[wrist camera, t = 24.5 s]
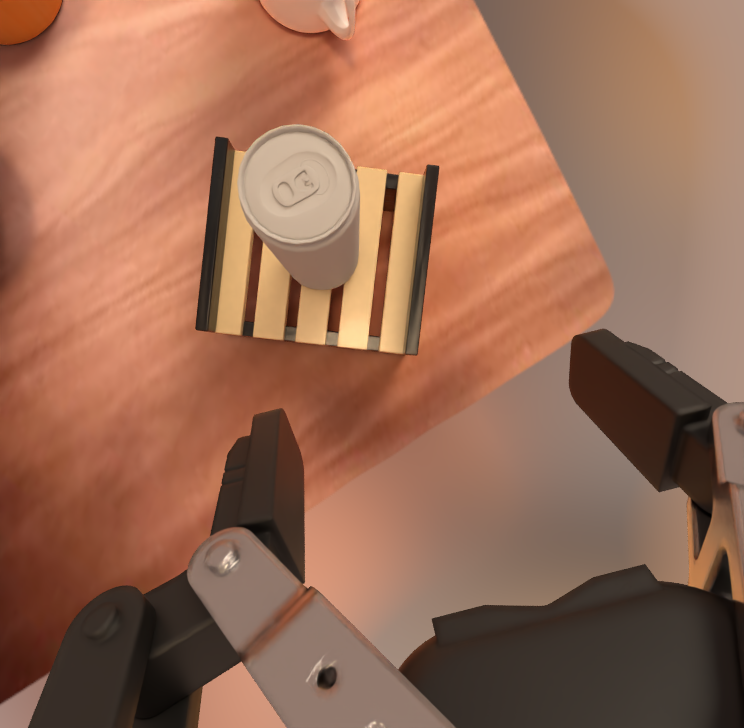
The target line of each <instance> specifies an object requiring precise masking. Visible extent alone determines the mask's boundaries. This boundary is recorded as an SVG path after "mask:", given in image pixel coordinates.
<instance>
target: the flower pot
mask: <svg viewBox="0 0 744 728" xmlns="http://www.w3.org/2000/svg"><path fill="white" fill-rule="evenodd" d="M61 3H62V0H0V44H4V45H10V44H17V43H21V42H24V41H28V40H30V39H32V38H34V37H36V36H37V35H39V34H40V33H42V32H43V31H44V30H45V29H46V28H47V27H48V26H49V25H50V24H51V23H52V21H53V20H54V19H55V17H56V15H57V13H58V11H59V9H60V6H61Z"/></svg>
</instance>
